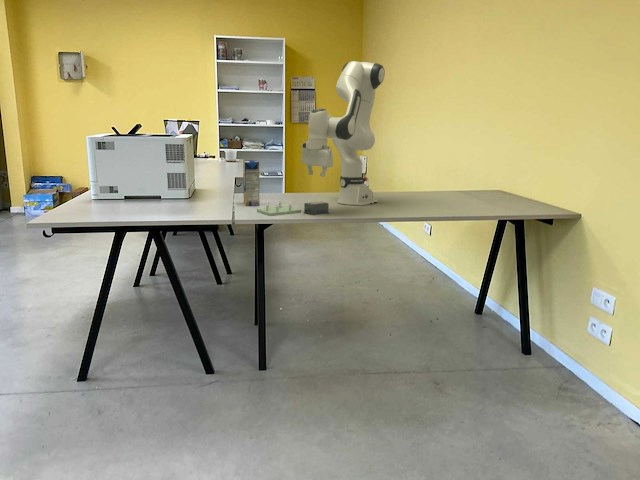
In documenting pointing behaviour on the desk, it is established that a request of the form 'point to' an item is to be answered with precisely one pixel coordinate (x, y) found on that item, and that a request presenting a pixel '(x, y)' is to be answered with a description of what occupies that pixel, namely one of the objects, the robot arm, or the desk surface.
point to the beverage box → (251, 182)
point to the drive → (316, 208)
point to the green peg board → (278, 209)
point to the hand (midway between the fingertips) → (316, 175)
